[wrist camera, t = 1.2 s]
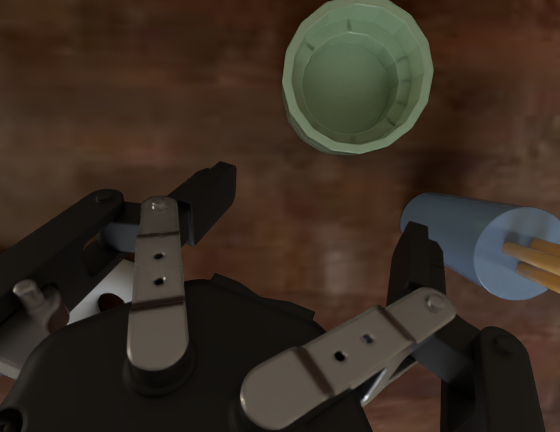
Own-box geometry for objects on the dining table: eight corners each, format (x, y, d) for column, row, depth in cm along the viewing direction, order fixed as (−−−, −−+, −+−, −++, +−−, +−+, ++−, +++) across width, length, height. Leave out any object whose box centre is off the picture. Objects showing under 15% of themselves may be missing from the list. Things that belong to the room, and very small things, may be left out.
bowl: (290, 19, 29) (293, -16, 23) (414, 36, 29) (446, 6, 24) (275, 147, 30) (274, 142, 25) (392, 162, 31) (416, 161, 25)
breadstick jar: (406, 188, 31) (601, 220, 12) (466, 195, 31) (748, 238, 12) (395, 247, 32) (561, 361, 13) (453, 254, 32) (699, 376, 13)
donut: (161, 353, 34) (178, 265, 32) (147, 375, 30) (166, 278, 29) (66, 333, 33) (79, 243, 32) (42, 352, 30) (55, 253, 28)
